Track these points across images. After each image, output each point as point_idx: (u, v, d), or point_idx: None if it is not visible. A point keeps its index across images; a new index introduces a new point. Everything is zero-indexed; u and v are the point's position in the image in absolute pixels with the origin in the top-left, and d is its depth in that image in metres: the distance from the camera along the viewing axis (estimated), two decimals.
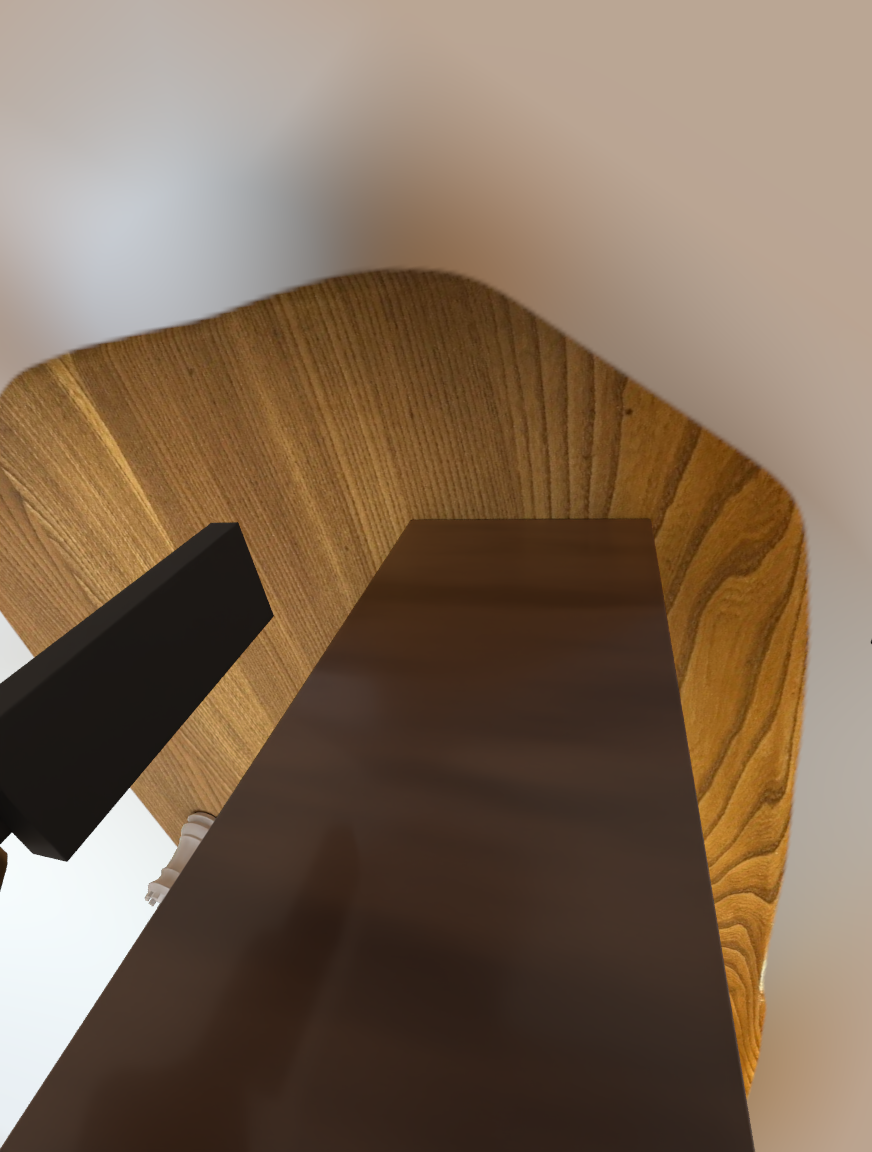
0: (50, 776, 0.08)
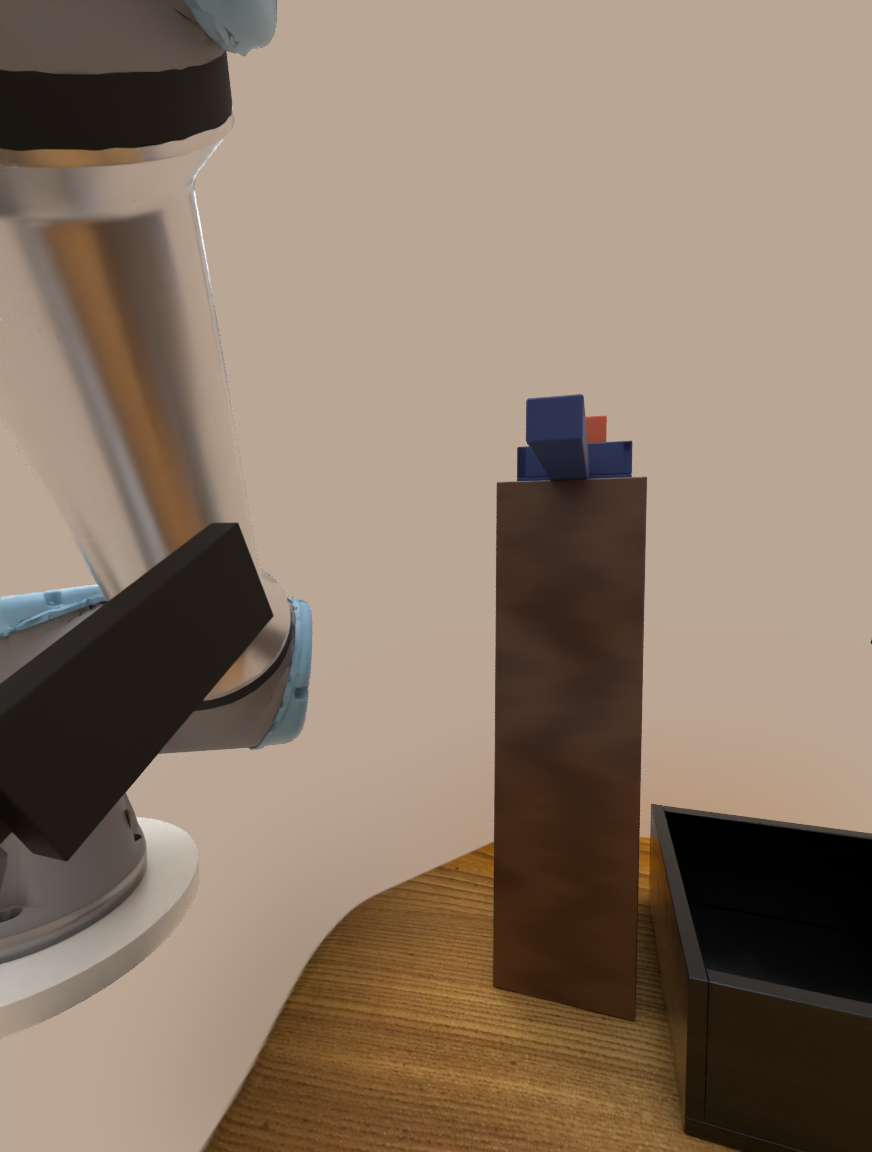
0: (50, 776, 0.08)
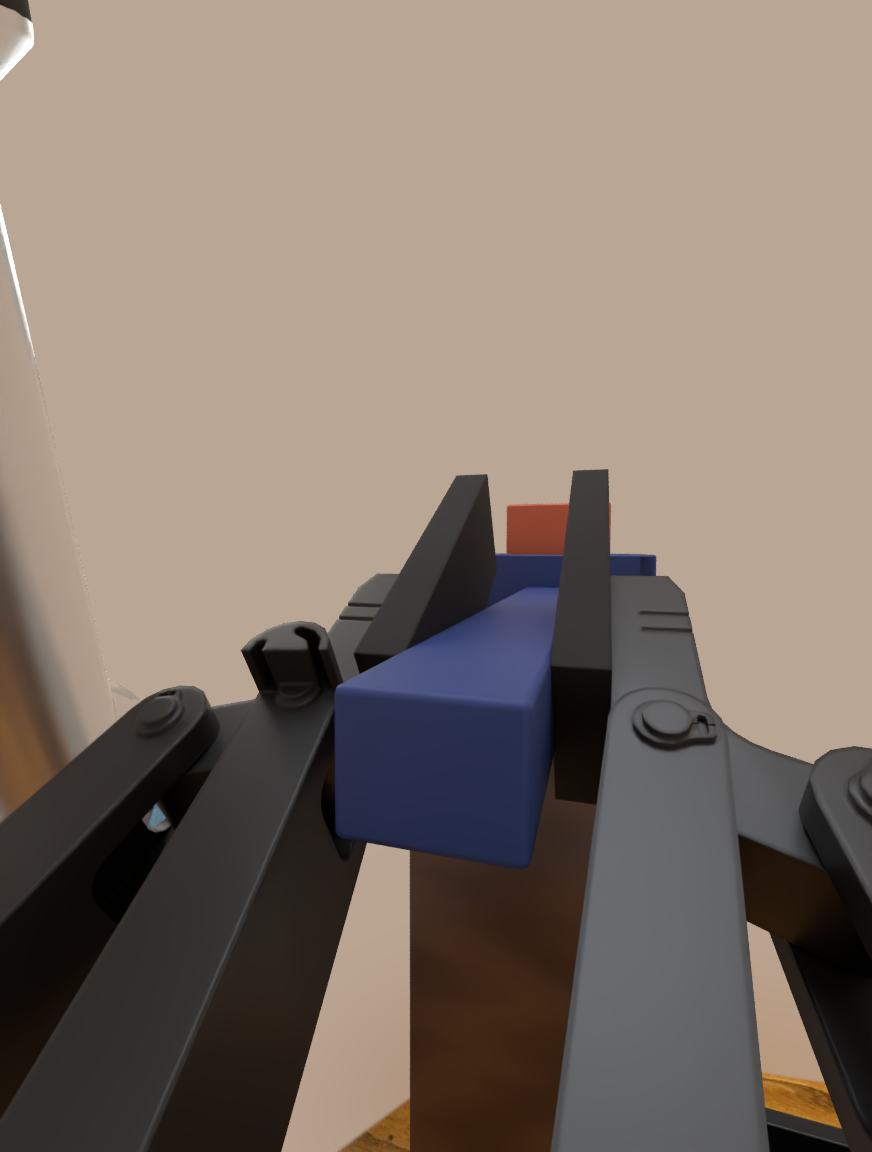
0: None
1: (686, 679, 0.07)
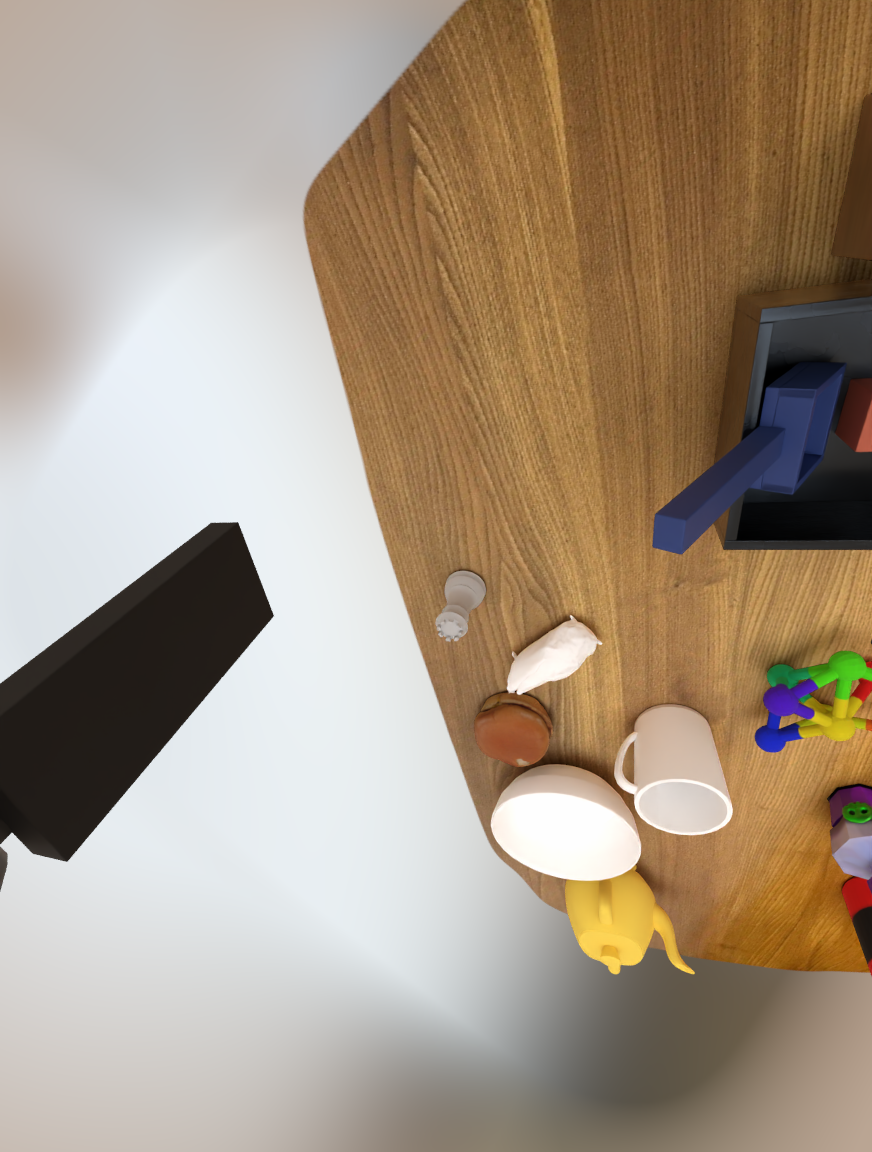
0: (50, 776, 0.08)
1: None
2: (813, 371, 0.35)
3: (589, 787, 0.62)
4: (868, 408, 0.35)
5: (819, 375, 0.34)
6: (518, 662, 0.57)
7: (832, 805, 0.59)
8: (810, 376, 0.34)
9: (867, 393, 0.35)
